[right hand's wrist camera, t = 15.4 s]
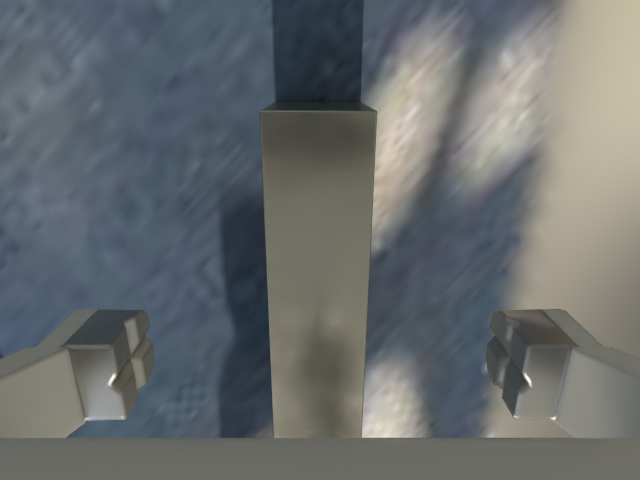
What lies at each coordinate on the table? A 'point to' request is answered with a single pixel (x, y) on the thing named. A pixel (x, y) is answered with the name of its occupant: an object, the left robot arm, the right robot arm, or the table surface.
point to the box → (317, 262)
